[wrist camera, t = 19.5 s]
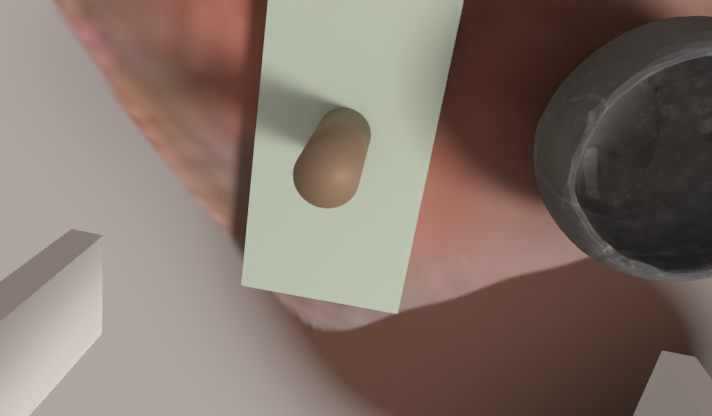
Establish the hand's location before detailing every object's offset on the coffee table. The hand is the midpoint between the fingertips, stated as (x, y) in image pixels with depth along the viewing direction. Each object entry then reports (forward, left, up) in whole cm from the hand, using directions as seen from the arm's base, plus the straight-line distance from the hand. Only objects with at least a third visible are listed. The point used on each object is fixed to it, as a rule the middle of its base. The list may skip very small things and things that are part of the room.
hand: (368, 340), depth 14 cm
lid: (+3, +3, -29) cm, 30 cm away
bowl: (-16, -1, -29) cm, 33 cm away
